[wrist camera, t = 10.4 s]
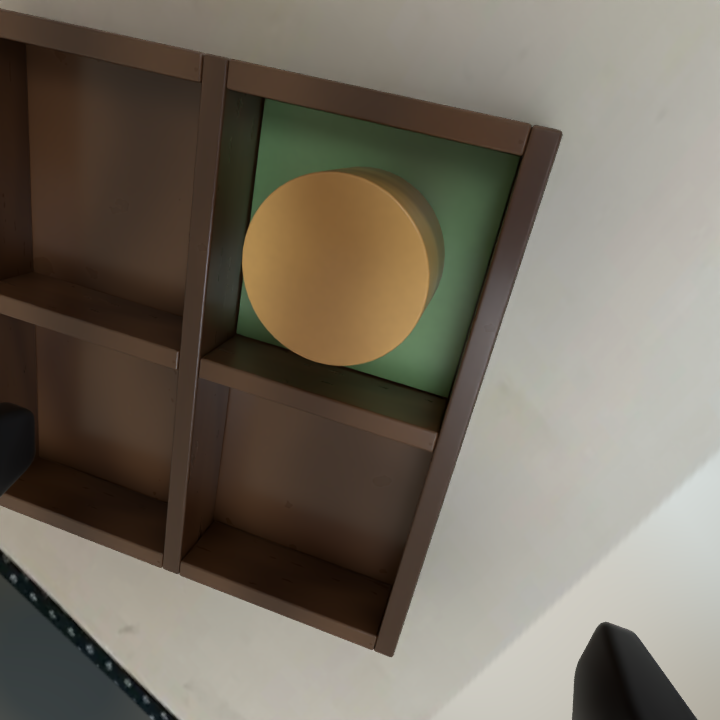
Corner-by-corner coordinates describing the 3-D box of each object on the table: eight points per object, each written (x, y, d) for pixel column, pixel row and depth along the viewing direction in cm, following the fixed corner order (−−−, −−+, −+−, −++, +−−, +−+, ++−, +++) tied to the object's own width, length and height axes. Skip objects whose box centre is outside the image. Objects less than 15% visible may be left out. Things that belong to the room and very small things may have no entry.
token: (465, 189, 16) (452, 198, 13) (421, 351, 18) (402, 389, 15) (298, 148, 17) (254, 150, 14) (274, 308, 19) (231, 337, 16)
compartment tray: (557, 132, 15) (563, 130, 13) (408, 595, 22) (392, 659, 19) (19, 15, 18) (-70, -7, 15) (35, 458, 25) (-25, 496, 22)
